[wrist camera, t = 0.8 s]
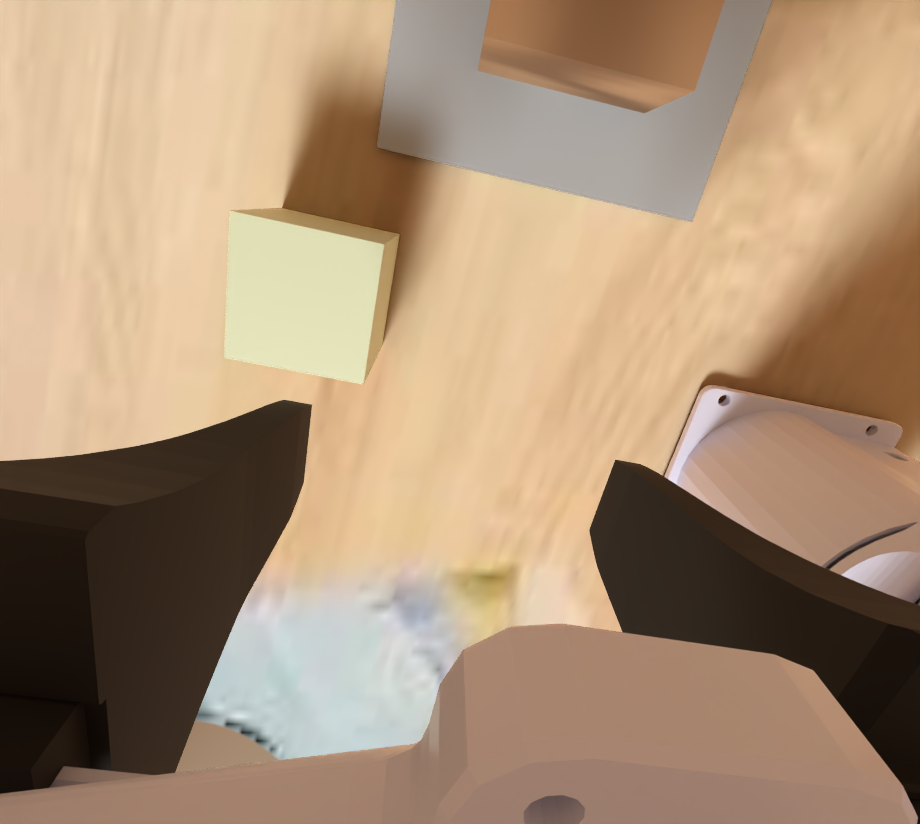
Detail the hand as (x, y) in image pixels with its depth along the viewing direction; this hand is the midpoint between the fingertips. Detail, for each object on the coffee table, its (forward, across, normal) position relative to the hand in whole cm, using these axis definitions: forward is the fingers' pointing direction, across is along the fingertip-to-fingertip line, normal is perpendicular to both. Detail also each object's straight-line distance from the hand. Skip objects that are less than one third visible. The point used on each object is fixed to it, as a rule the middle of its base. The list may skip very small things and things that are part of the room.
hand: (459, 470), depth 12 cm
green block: (+10, +5, -2) cm, 12 cm away
